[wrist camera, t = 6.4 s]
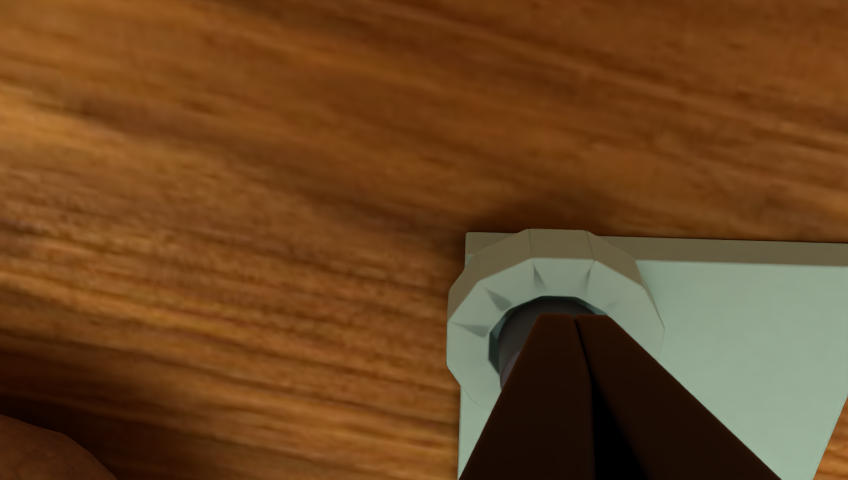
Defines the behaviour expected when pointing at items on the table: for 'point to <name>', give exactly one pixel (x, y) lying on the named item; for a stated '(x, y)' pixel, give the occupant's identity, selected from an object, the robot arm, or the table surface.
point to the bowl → (44, 455)
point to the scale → (676, 325)
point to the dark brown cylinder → (528, 329)
